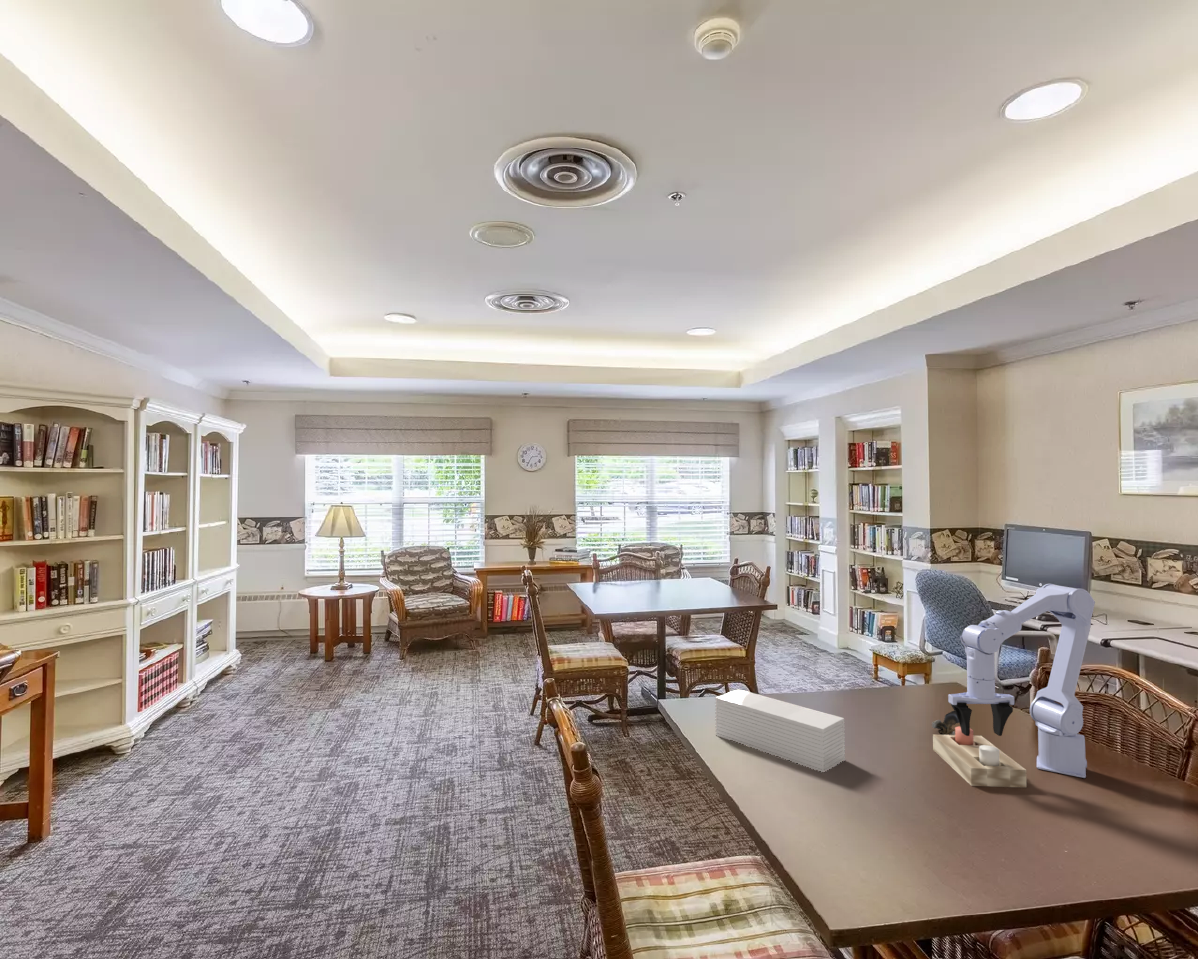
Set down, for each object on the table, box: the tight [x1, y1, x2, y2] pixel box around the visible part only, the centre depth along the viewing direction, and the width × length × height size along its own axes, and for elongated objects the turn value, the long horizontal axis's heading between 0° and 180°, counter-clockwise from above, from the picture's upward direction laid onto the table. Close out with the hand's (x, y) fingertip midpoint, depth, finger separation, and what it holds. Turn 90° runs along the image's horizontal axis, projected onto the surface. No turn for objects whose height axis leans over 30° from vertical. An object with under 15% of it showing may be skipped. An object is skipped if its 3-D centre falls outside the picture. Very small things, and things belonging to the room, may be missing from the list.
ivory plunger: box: [979, 745, 1000, 766], centre depth 149 cm, size 4×4×4 cm
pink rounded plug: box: [954, 725, 974, 745], centre depth 161 cm, size 4×4×4 cm
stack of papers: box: [714, 688, 846, 773], centre depth 168 cm, size 32×11×11 cm, turn 42°
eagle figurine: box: [931, 710, 960, 735], centre depth 175 cm, size 8×7×9 cm
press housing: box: [932, 734, 1027, 789], centre depth 155 cm, size 12×20×4 cm, turn 175°
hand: (981, 734), depth 151 cm, fingers open, 7 cm apart
